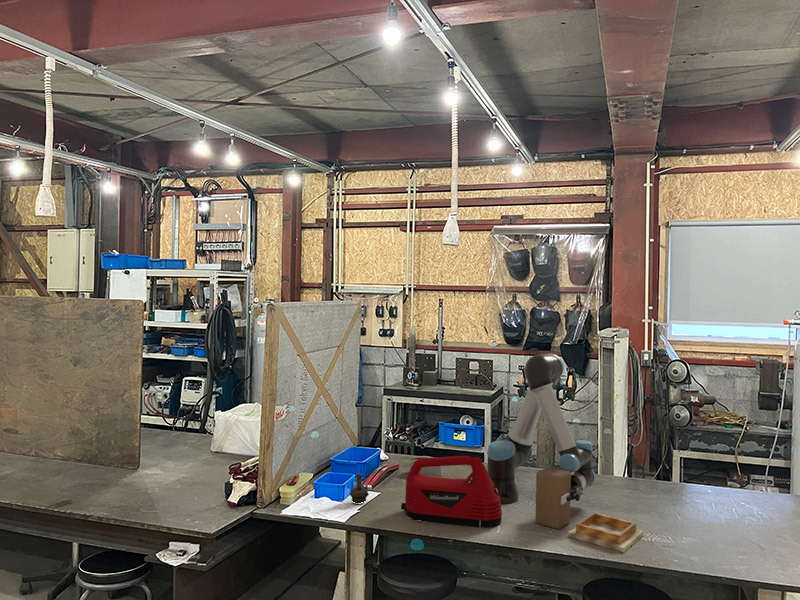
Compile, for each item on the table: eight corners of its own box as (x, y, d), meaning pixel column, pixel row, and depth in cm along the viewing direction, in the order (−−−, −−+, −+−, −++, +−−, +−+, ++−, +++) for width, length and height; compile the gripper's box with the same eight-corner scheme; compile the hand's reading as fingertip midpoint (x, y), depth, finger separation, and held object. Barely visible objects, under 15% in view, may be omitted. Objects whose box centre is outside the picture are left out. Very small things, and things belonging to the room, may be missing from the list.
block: (570, 523, 228) (571, 471, 228) (558, 530, 221) (559, 476, 221) (547, 516, 235) (548, 466, 235) (534, 523, 228) (535, 471, 228)
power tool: (406, 505, 245) (407, 445, 245) (503, 516, 235) (505, 453, 235) (396, 519, 230) (397, 454, 230) (500, 531, 220) (501, 463, 220)
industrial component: (370, 501, 249) (371, 472, 249) (364, 507, 242) (365, 477, 242) (349, 498, 252) (350, 470, 252) (343, 504, 245) (343, 475, 245)
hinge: (444, 473, 291) (443, 456, 287) (443, 479, 286) (442, 461, 283) (411, 470, 295) (410, 453, 292) (409, 476, 291) (408, 458, 287)
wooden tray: (568, 536, 216) (568, 524, 216) (590, 521, 231) (590, 509, 231) (623, 552, 203) (623, 539, 203) (643, 535, 218) (643, 523, 218)
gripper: (600, 499, 234) (576, 514, 218) (546, 486, 249) (521, 500, 232) (600, 480, 234) (577, 494, 218) (547, 469, 249) (521, 481, 232)
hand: (548, 497), depth 225 cm, fingers closed on block, 10 cm apart
